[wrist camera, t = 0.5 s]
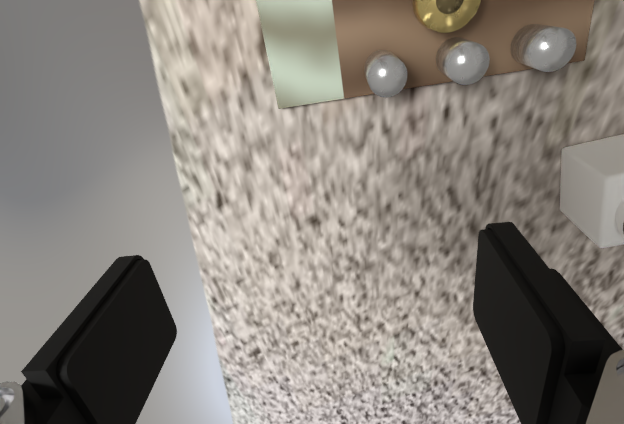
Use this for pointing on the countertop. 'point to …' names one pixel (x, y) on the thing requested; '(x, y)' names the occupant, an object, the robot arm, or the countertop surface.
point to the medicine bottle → (595, 189)
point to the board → (391, 41)
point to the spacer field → (475, 58)
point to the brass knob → (445, 13)
